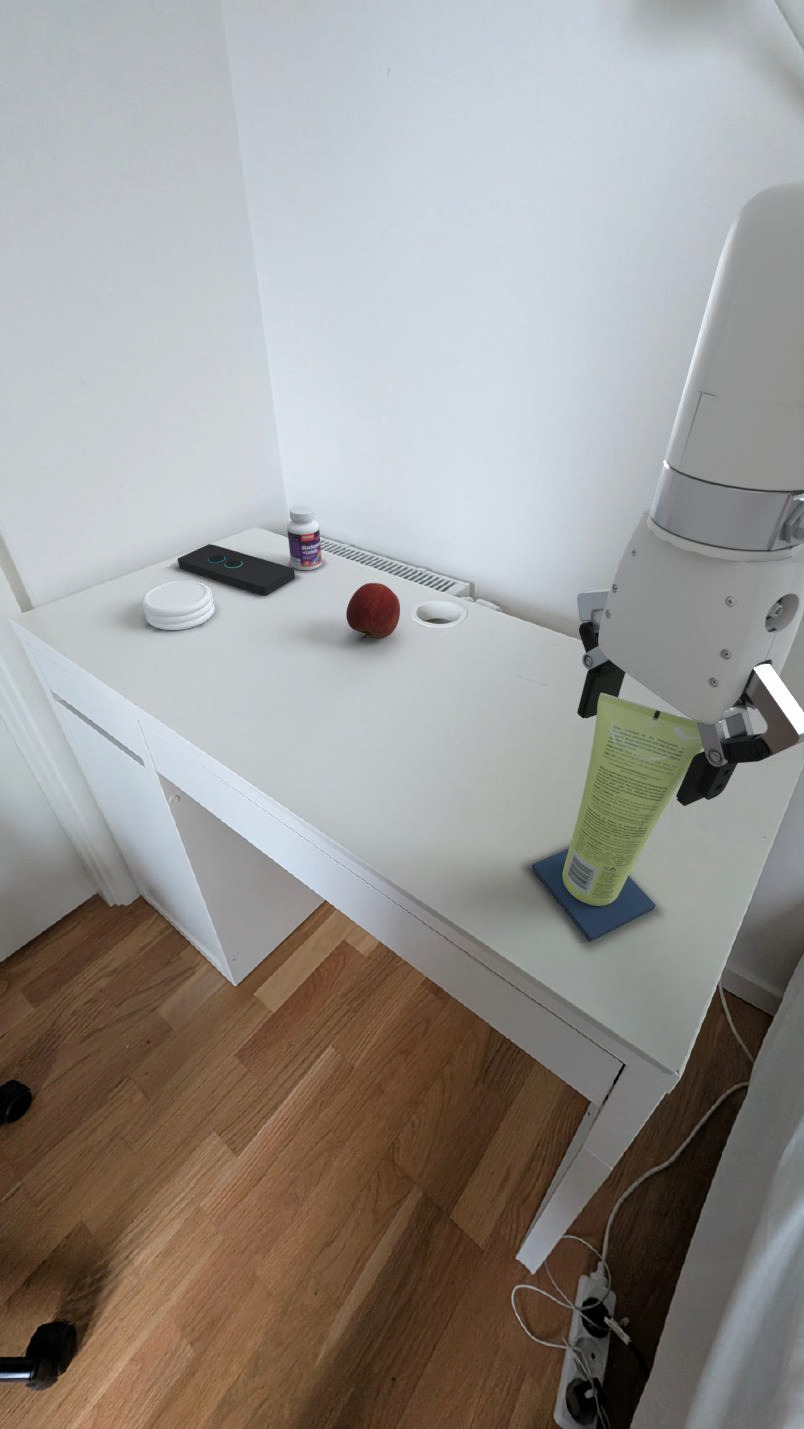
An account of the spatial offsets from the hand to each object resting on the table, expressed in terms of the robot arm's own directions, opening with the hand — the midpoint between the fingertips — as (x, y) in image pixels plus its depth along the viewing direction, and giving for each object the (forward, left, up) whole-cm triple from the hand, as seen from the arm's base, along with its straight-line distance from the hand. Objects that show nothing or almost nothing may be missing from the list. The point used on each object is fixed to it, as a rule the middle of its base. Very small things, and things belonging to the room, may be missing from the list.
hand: (641, 750), depth 41 cm
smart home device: (+76, +13, -17) cm, 79 cm away
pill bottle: (+74, +1, -17) cm, 76 cm away
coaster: (+65, +24, -17) cm, 71 cm away
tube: (0, 0, -16) cm, 16 cm away
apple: (+47, 0, -17) cm, 50 cm away
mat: (0, 0, -16) cm, 16 cm away
